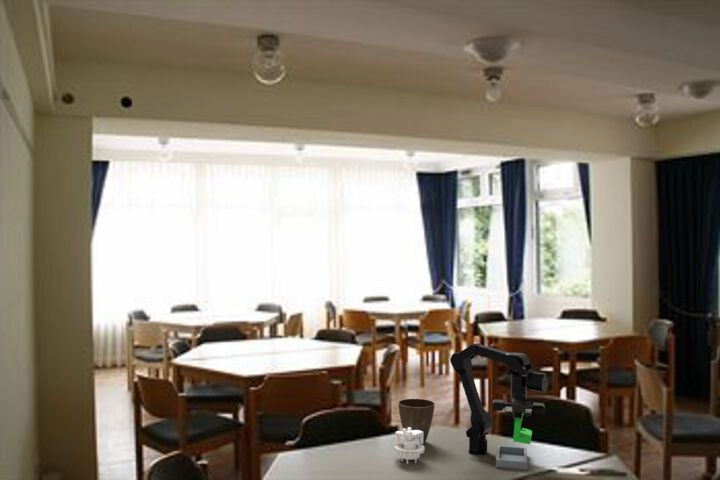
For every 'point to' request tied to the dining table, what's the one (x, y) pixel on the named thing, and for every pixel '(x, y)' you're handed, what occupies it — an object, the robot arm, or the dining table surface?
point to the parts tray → (511, 457)
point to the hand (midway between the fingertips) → (517, 429)
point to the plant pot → (417, 415)
